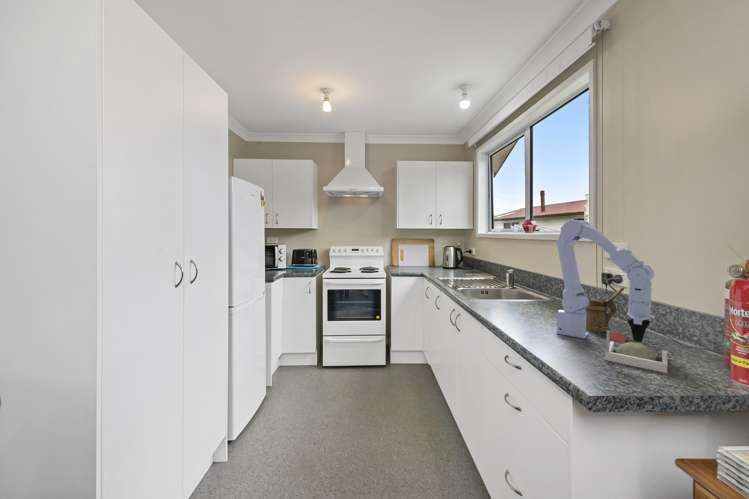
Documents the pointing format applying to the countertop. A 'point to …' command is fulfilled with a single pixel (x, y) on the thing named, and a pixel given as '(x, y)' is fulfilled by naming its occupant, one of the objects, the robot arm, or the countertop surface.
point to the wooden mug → (600, 314)
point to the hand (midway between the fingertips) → (637, 341)
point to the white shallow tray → (630, 359)
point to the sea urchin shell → (637, 351)
